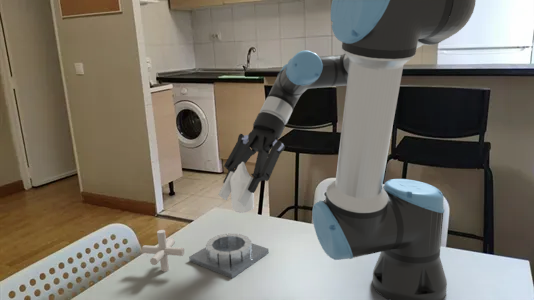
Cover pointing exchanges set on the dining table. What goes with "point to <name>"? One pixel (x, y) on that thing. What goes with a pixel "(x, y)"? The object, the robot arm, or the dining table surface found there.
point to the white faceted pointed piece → (240, 189)
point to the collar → (229, 254)
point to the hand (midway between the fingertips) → (231, 200)
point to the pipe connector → (162, 250)
